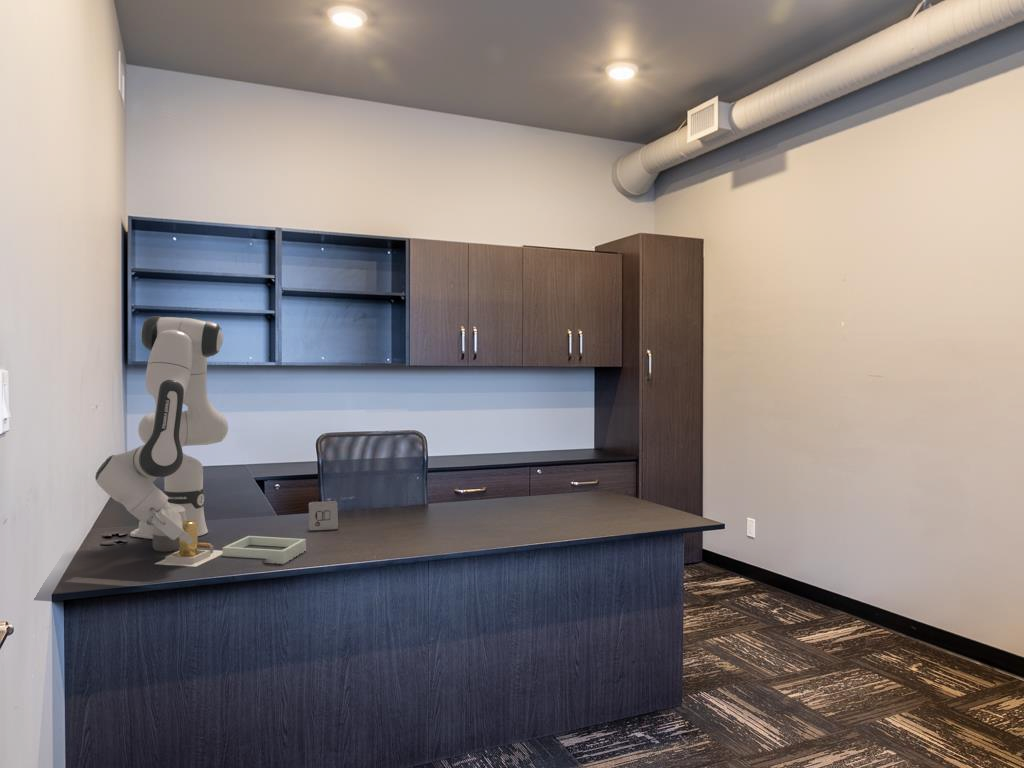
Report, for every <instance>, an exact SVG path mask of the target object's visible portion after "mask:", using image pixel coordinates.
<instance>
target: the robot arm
mask: <svg viewBox="0 0 1024 768" xmlns="http://www.w3.org/2000/svg"><path fill="white" fill-rule="evenodd" d="M140 338H141V342H142V345H143V346H144V347H145V349H146V350H148V351H150V353H149V357H148V361H147V367H146V371H145V389H146V391H147V392H148V394H149V395H150V396H152V398H153V399H154V402H155V410H154V412H152V413H148V414H145V415H144V416H143V417H142V418H141V420H140V421H139V424H138V428H137V429H138V430H137V431H138V436H139V438H140V440H141V441H142V442H143V445H140V446H138V447H136V448H134V449H132V450H129V451H125V452H123V453H119V454H111V455H110V456H108V457H107V458H106V459H105V461H104V462H102V463H101V465H100V467H98V469H97V470H96V471H97V472H96V473H95V482H96V484H97V485H98V486H99V487H100V488H101V490H103V491H104V492H105V493H106V494H107V495H108V496H109V497H111V498H112V499H113V500H114V501H115V502H118V503H120V504H122V505H123V506H124V507H125V509H126V510H127V512H129V513H130V514H131V515H132V516H134V518H136V519H137V520H139V523H138V528H136V529H134V530H132V531H131V532H130V537H133V538H141V539H142V538H143V539H151V540H153V529H154V525H155V526H156V527H157V528H158V529H160V530H161V531H162V532H163V533H164V534H165V535H166V536H168V537H169V538H170V539H172V540H175V539H176V538H177V537H178V538H180V539H182V540H184V541H185V542H186V543H188V544H190V543H191V542H192V541H193V540H194V539H193V537H192V536H190V535H189V534H188V533H186V532H185V531H184V530H183V525H182V519H181V515H180V514H179V513H178V512H177V510H176V509H175V508H174V507H173V506H172V505H171V504H170V503H173V504H177V505H180V506H182V507H184V508H185V512H186V520H187V521H197V522H198V532H197V537H200V536H204V535H205V534H208V533H209V530H208V527H207V523H206V518H205V511H204V505H205V488H204V487H203V486H204V467H203V463H201V461H199V460H198V459H196V458H194V457H192V456H190V455H187V454H185V453H184V452H183V447H188V446H189V447H190V446H191V447H192V446H208V445H214V444H217V443H221V442H223V441H224V439H225V438H226V436H227V434H228V432H229V424H228V423H229V422H228V421H227V418H226V417H225V416H224V414H223V413H221V412H220V411H218V410H217V409H216V408H215V407H214V406H213V405H212V403H211V401H210V399H209V397H208V392H207V391H208V390H207V376H208V375H207V373H208V358H210V357H214V356H215V355H216V354H219V352H220V350H221V348H222V346H223V341H224V335H223V332H222V328H221V327H220V325H219V324H218V323H216V322H212V321H208V320H207V321H205V320H200V319H197V318H190V317H189V318H188V317H175V316H174V317H173V316H164V317H163V316H161V315H157V316H155V315H154V316H150V317H148V318H146V319H145V320H144V322H143V325H142V328H141V330H140ZM183 405H185V406H186V407H187V410H183ZM158 478H164V489H163V490H161V489H160V488H158V486H156V485H155V484H154V482H155V481H156V479H158Z"/></svg>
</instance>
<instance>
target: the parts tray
mask: <svg viewBox="0 0 1024 768" xmlns="http://www.w3.org/2000/svg"><path fill="white" fill-rule="evenodd" d="M248 546H267V547H279V548H280V547H282V548H283V547H284V548H283V549H269V548H253V547H251V548H250V547H248ZM306 546H307V539H305V538H290V537H274V536H273V537H272V536H258V535H257V536H256V535H247V536H245V537H242V538H241V539H238V540H236V541H234V542H232V543H229V544H227V545H225V546H223V547H222V551H223V553H222V555H221V556H222V557H233V558H250V559H263V560H262V561H261V562H263V563H264V564H275V563H276V564H277V565H279V564H280V565H284V564H286V563H288V562H290V561H292V560H293V559H294V557H295V558H296V556H297V557H298V556H300V555H302V554H303V553H305V552H307V547H306ZM304 551H305V552H304ZM301 553H302V554H301ZM299 554H300V555H299ZM289 560H290V561H289ZM263 563H262V564H263ZM276 564H275V565H276Z"/></svg>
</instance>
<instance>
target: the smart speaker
mask: <svg viewBox="0 0 1024 768" xmlns="http://www.w3.org/2000/svg"><path fill="white" fill-rule="evenodd" d="M170 504H171V505H172V506H173V507H174V508H175V509H176V510H177V512H178V513H179V514H180V515H181V519H182V522H183V521H187V520H186V512H185V508H184V507H182V506H180V505H177V504H173V503H170ZM152 547H153V551H157V552H164V553H165V552H177V551H179V550H180V538H178V537H177V538H176V539H175V540H172V539H170V538H169V537H168V536H166V535H165V534H164V533H163V532H162V531H161V530H160V529H158V528H157V527H156V526H155V525H154V529H153V539H152Z"/></svg>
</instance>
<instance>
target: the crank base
mask: <svg viewBox="0 0 1024 768" xmlns="http://www.w3.org/2000/svg"><path fill="white" fill-rule="evenodd" d="M179 553H180V550H176V551H174V552H172V553H171V554H170V553H169V554H167V555H166V556H165V558H164V559H161V560H160V561H157V562H155V563H154V565H161V566H162V565H164V566H180V567H181V566H182V567H199V566H201V565H202V564H205V563H207V562H209V561H211V560H213V559H215V558H217V557H220V556H222V553H223V550H217V549H214V545H212V544H211V543H209V542H197V555H196V556H194V557H184V556H179Z"/></svg>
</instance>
